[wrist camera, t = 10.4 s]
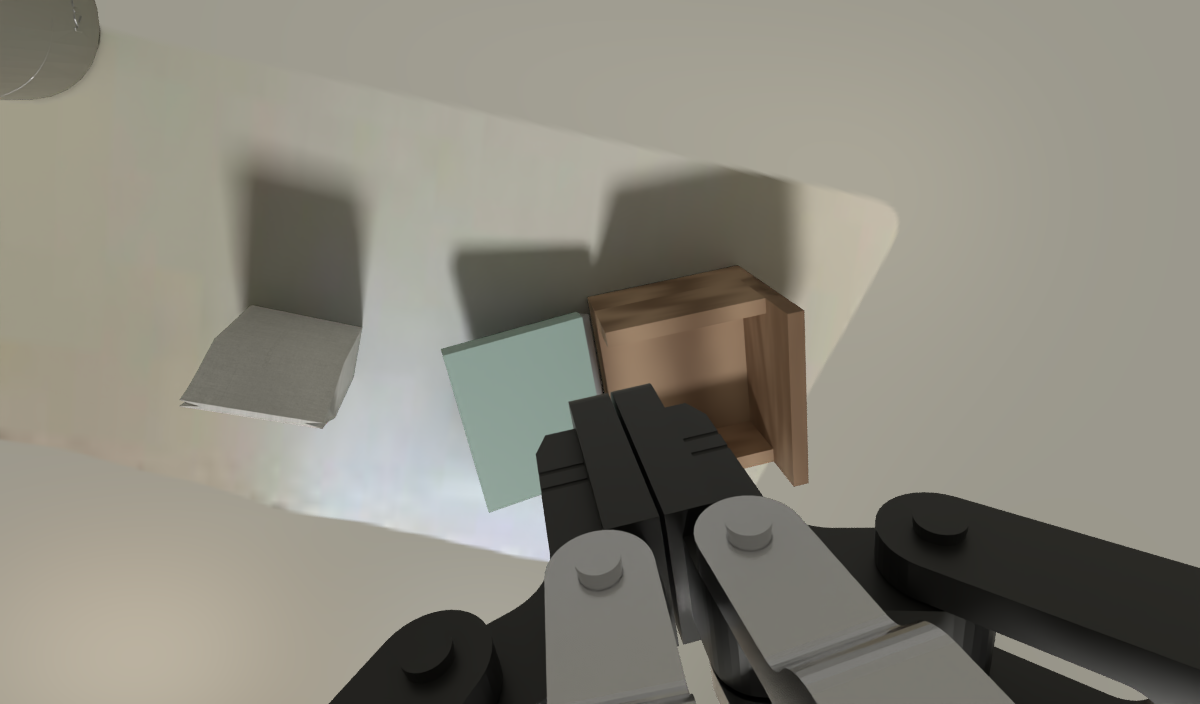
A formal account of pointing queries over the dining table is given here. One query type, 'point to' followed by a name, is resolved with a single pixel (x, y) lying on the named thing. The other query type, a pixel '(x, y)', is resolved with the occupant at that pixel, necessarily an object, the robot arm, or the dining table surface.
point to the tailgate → (520, 398)
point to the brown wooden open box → (714, 358)
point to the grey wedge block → (277, 368)
